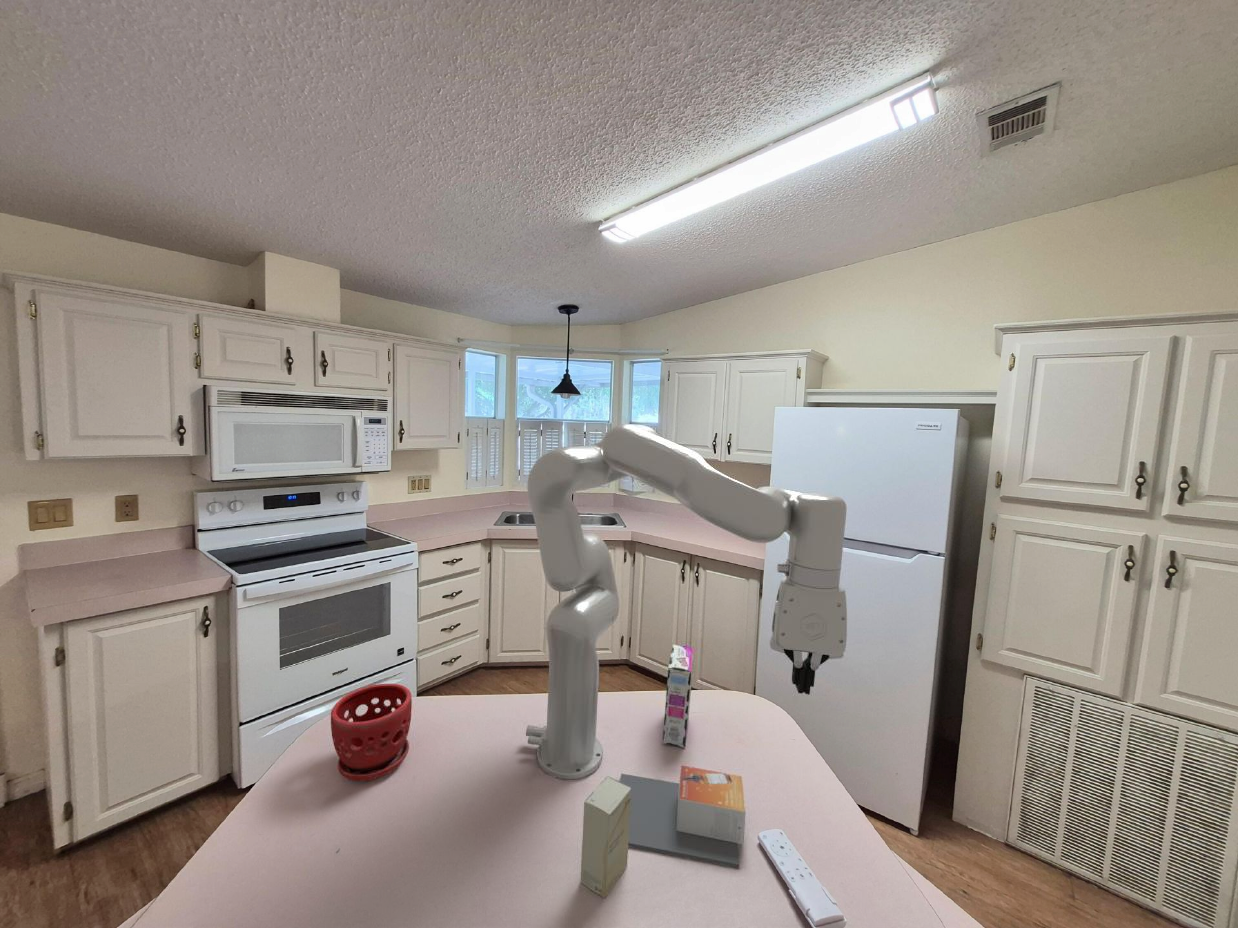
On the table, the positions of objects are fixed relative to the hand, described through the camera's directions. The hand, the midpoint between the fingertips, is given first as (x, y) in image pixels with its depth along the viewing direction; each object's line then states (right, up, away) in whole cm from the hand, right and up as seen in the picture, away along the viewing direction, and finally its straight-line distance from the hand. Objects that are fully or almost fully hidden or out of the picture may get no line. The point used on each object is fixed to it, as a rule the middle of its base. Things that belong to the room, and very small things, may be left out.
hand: (801, 688), depth 73 cm
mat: (-19, -24, +5) cm, 31 cm away
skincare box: (-31, -24, -6) cm, 39 cm away
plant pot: (-74, -20, +13) cm, 78 cm away
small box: (-8, -21, +3) cm, 23 cm away
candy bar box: (-16, -22, +27) cm, 39 cm away
